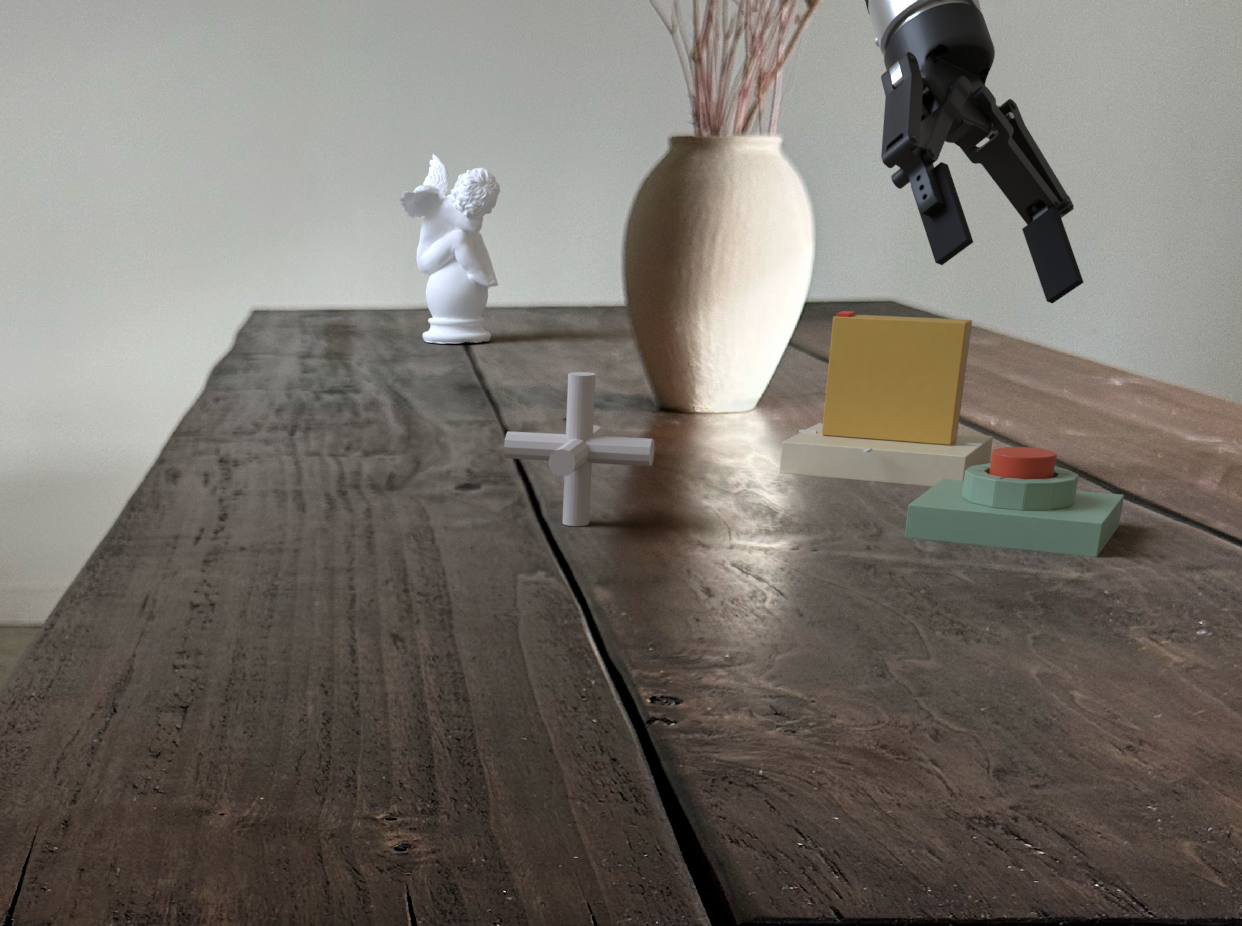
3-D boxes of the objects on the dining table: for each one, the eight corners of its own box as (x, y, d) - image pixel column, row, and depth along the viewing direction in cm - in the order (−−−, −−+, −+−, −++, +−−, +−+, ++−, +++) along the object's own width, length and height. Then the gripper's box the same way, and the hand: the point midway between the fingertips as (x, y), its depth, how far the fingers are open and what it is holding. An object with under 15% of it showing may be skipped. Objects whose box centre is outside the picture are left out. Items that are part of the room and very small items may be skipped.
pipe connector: (633, 544, 111) (641, 387, 107) (486, 533, 114) (489, 380, 110) (660, 513, 119) (669, 367, 115) (523, 504, 122) (527, 362, 118)
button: (1057, 476, 112) (1061, 449, 112) (1047, 486, 109) (1051, 459, 108) (995, 471, 114) (998, 444, 113) (983, 481, 111) (986, 454, 110)
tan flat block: (956, 440, 131) (972, 316, 127) (950, 445, 129) (966, 319, 125) (829, 430, 135) (841, 310, 132) (821, 435, 134) (833, 313, 130)
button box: (1118, 527, 114) (1128, 467, 113) (1096, 557, 106) (1107, 494, 105) (938, 509, 120) (945, 452, 118) (904, 537, 112) (911, 477, 110)
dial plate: (995, 463, 136) (1000, 430, 135) (957, 495, 124) (962, 458, 123) (820, 449, 142) (824, 417, 141) (769, 478, 131) (772, 443, 130)
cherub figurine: (508, 343, 212) (513, 153, 203) (424, 349, 206) (425, 155, 197) (456, 334, 222) (458, 152, 213) (375, 340, 216) (373, 154, 207)
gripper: (988, 111, 138) (1065, 334, 133) (785, 21, 124) (861, 267, 118) (1068, 48, 133) (1151, 278, 127) (864, -55, 118) (948, 200, 112)
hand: (1011, 273), depth 123 cm, fingers open, 13 cm apart
